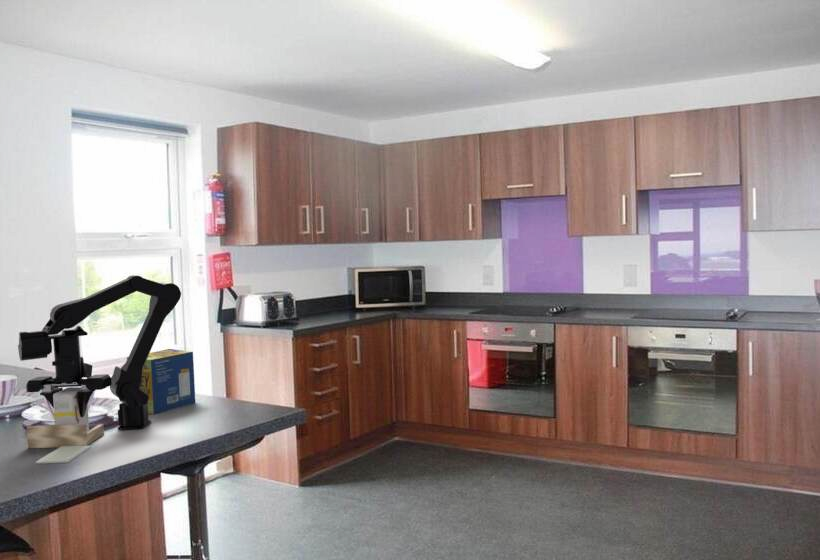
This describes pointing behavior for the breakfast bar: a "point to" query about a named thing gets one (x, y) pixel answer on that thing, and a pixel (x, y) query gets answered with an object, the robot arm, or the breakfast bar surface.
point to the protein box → (168, 380)
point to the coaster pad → (63, 454)
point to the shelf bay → (62, 435)
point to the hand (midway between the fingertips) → (71, 417)
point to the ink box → (68, 408)
